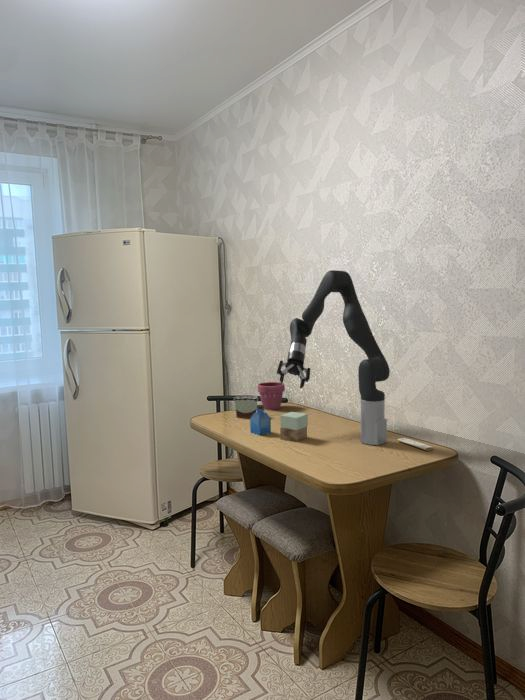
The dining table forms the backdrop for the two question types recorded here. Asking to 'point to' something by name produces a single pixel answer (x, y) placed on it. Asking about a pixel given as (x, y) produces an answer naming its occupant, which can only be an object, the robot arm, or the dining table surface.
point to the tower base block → (293, 434)
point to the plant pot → (271, 394)
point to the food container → (245, 405)
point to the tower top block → (294, 420)
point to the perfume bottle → (260, 422)
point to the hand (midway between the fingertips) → (291, 384)
